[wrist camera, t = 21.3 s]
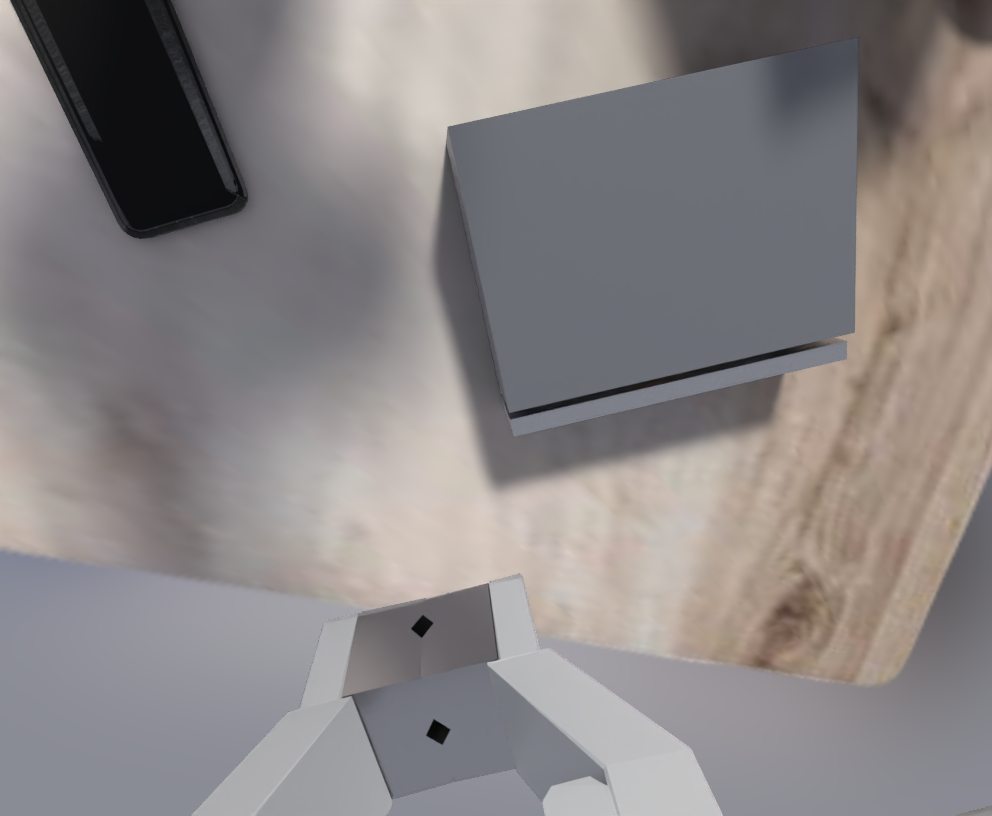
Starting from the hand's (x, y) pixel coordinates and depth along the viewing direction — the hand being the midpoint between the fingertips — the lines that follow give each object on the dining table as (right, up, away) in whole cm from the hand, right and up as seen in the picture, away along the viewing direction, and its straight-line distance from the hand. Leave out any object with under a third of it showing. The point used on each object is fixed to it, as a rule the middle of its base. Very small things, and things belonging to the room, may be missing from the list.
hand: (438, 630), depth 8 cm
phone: (-20, +22, +24) cm, 38 cm away
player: (+10, +15, +29) cm, 34 cm away
